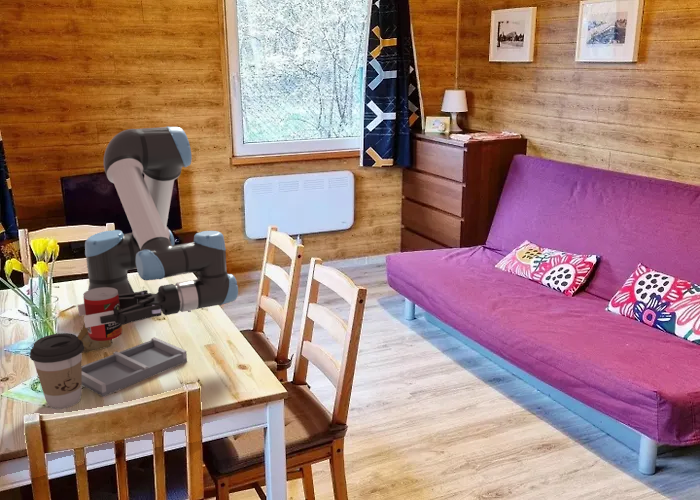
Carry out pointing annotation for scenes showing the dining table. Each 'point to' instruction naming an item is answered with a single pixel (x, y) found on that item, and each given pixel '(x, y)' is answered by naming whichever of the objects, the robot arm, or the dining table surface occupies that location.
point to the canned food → (99, 303)
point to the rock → (91, 341)
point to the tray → (131, 366)
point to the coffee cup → (59, 368)
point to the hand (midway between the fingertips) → (81, 315)
